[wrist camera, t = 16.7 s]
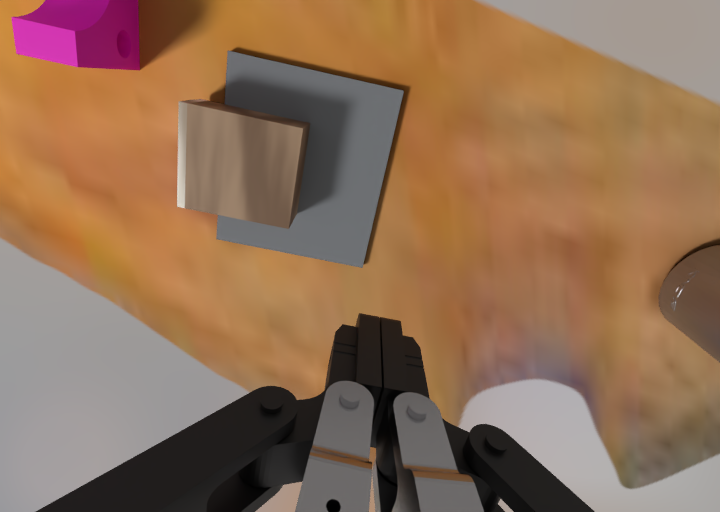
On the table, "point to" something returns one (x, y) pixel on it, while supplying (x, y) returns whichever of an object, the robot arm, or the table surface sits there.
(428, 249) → the table surface
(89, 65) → the toy block
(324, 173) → the mat
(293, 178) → the slab
